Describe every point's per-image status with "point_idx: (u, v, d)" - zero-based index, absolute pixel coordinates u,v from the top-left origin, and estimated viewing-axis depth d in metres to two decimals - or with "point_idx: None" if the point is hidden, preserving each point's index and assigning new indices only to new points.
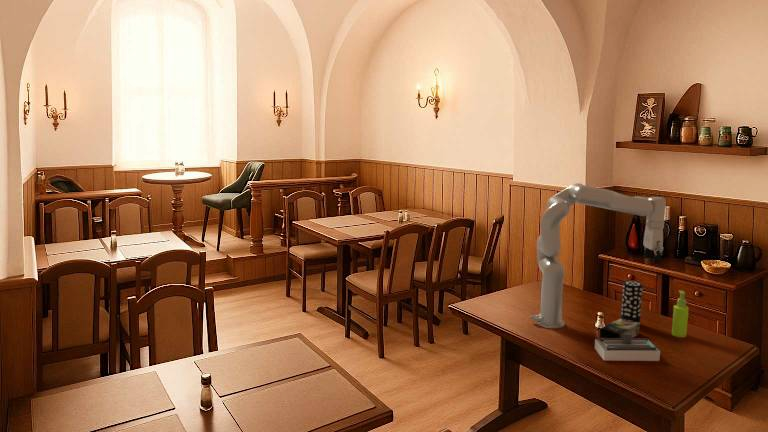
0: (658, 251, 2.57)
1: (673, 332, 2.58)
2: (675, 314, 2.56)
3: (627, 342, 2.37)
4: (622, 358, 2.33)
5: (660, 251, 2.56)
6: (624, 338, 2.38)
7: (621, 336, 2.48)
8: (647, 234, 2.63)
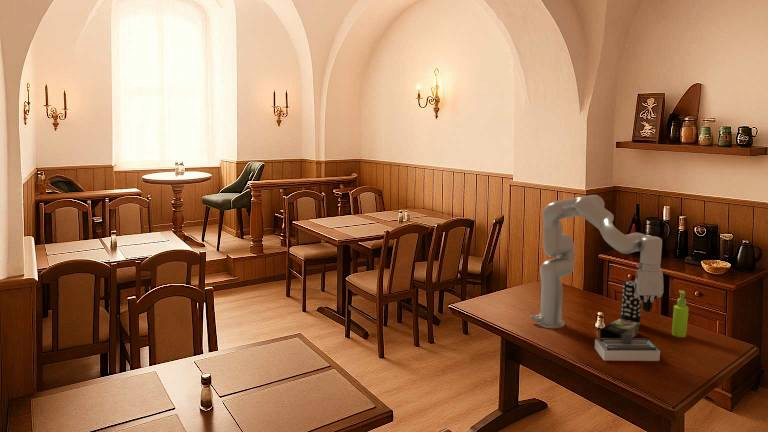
0: (656, 296, 2.33)
1: (673, 332, 2.58)
2: (675, 314, 2.56)
3: (627, 342, 2.37)
4: (622, 358, 2.33)
5: (656, 297, 2.34)
6: (624, 338, 2.38)
7: (622, 336, 2.48)
8: (651, 281, 2.30)
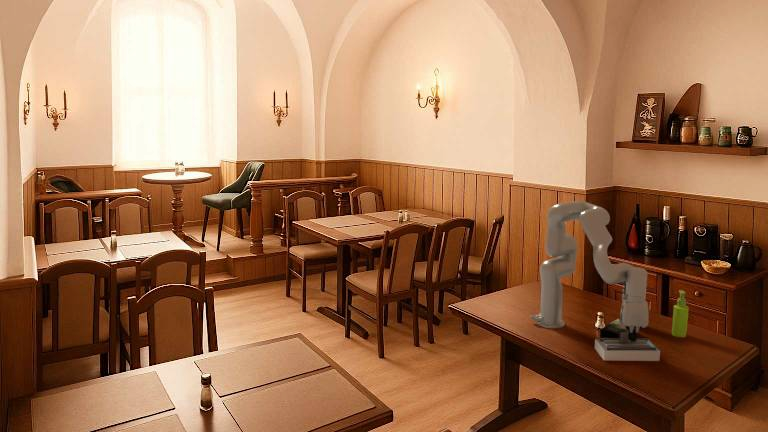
0: (641, 327, 2.36)
1: (673, 332, 2.58)
2: (675, 314, 2.56)
3: (624, 342, 2.37)
4: (622, 358, 2.33)
5: (642, 327, 2.36)
6: (621, 338, 2.38)
7: None
8: (636, 312, 2.33)
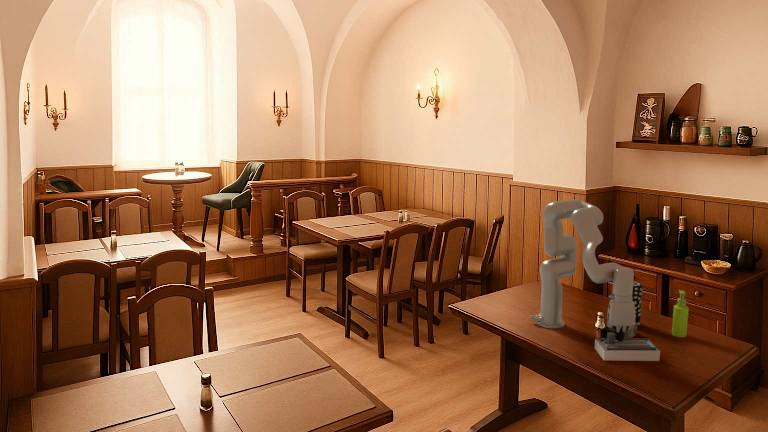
0: (628, 326, 2.36)
1: (673, 332, 2.58)
2: (675, 314, 2.56)
3: (611, 342, 2.37)
4: (622, 358, 2.33)
5: (629, 327, 2.37)
6: (608, 338, 2.38)
7: None
8: (623, 311, 2.33)
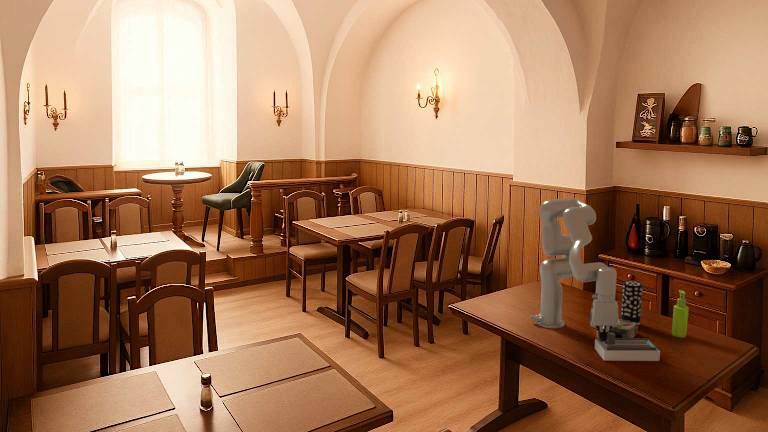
0: (611, 326, 2.36)
1: (673, 332, 2.58)
2: (675, 314, 2.56)
3: (611, 342, 2.37)
4: (622, 358, 2.33)
5: (612, 327, 2.37)
6: (608, 338, 2.38)
7: (623, 337, 2.47)
8: (606, 311, 2.33)
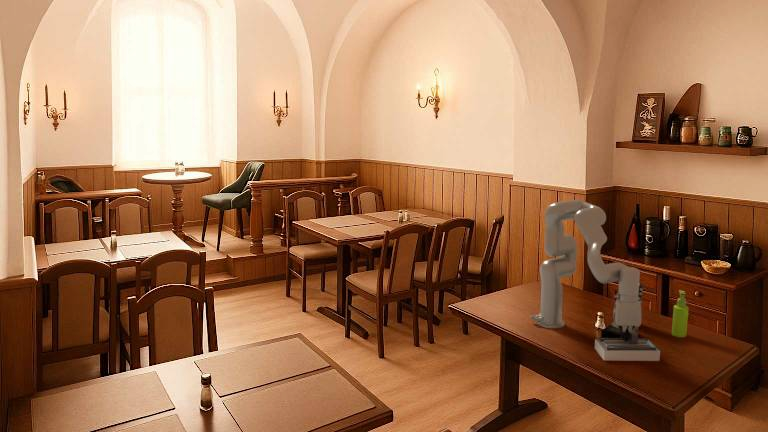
0: (634, 326, 2.36)
1: (673, 332, 2.58)
2: (675, 314, 2.56)
3: (633, 342, 2.37)
4: (622, 358, 2.33)
5: (635, 327, 2.36)
6: (630, 338, 2.37)
7: None
8: (629, 311, 2.33)
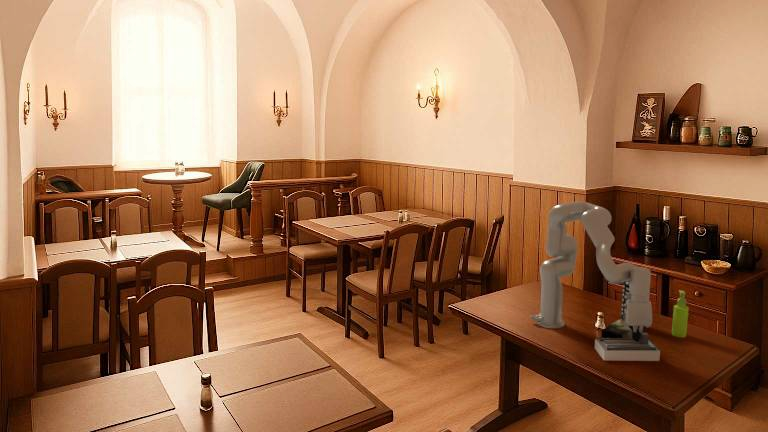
0: (645, 326, 2.35)
1: (673, 332, 2.58)
2: (675, 314, 2.56)
3: (644, 342, 2.36)
4: (622, 358, 2.33)
5: (645, 327, 2.36)
6: (641, 338, 2.37)
7: (623, 337, 2.46)
8: (640, 311, 2.32)
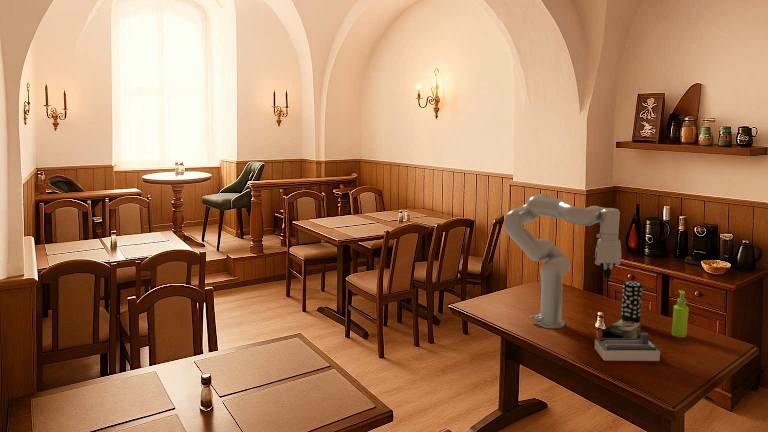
0: (615, 264, 2.52)
1: (673, 332, 2.58)
2: (675, 314, 2.56)
3: (644, 342, 2.36)
4: (622, 358, 2.33)
5: None
6: (641, 338, 2.37)
7: None
8: (609, 249, 2.49)
